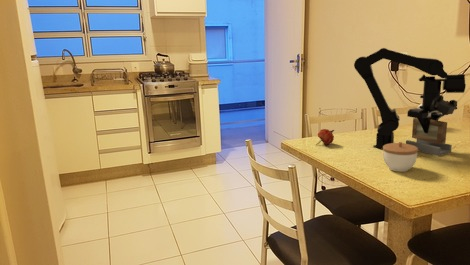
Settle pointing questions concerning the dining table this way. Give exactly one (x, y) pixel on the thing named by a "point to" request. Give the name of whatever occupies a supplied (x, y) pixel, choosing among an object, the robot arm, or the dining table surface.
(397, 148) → the lidded jar
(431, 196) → the dining table surface
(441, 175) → the dining table surface
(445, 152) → the display ledge
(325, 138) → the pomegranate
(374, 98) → the robot arm
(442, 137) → the brown flat block
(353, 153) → the dining table surface
